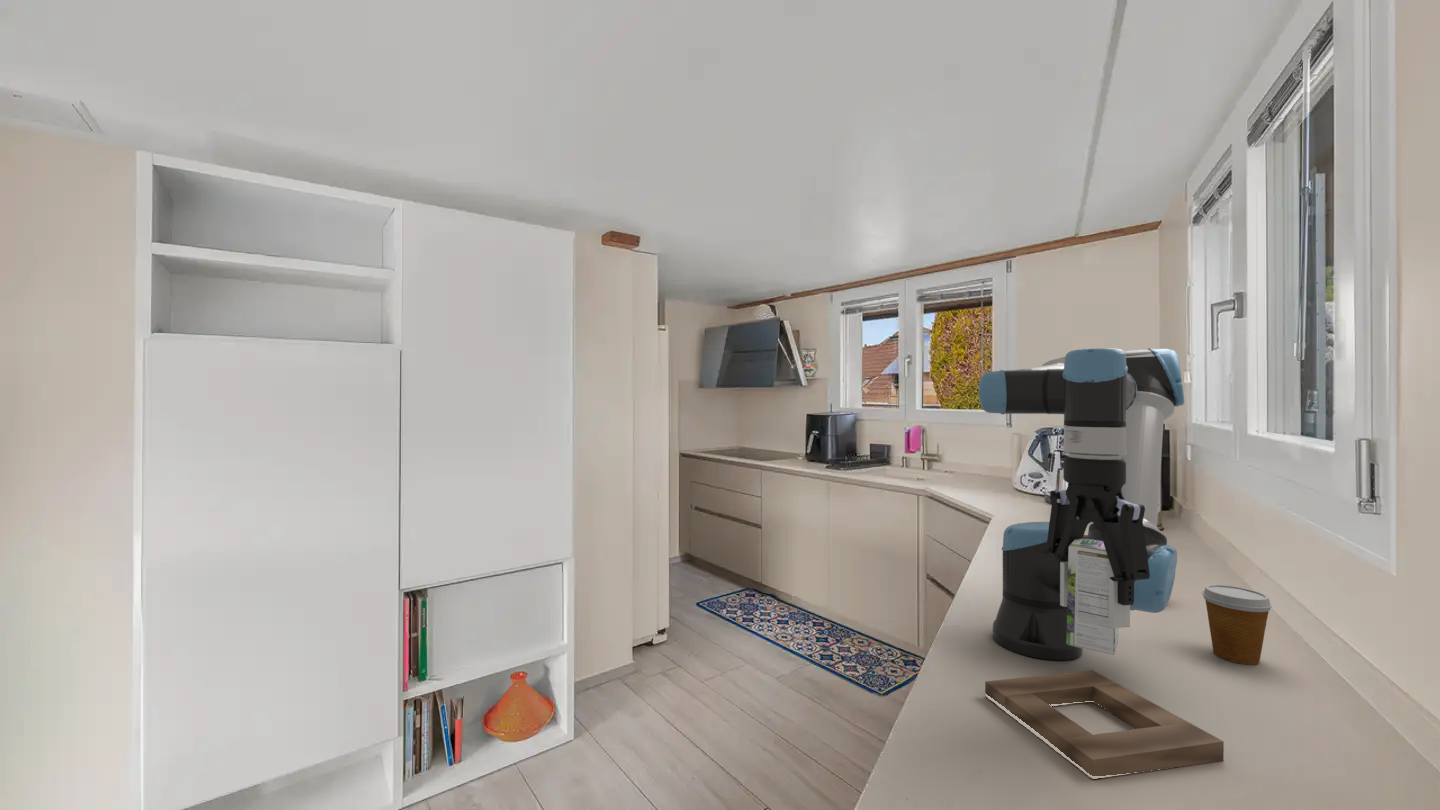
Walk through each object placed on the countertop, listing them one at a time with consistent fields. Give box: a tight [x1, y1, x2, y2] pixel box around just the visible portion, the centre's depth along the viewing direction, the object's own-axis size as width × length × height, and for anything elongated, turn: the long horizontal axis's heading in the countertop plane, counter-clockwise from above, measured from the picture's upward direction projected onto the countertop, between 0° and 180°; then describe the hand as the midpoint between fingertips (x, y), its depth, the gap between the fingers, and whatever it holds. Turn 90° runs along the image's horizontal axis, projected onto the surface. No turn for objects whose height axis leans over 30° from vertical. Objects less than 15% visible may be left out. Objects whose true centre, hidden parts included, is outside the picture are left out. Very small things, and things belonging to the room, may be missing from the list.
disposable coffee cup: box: [1201, 584, 1273, 666], centre depth 104 cm, size 10×10×12 cm
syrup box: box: [1066, 539, 1119, 656], centre depth 81 cm, size 6×6×14 cm
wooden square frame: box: [984, 669, 1225, 776], centre depth 81 cm, size 20×20×2 cm
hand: (1093, 615), depth 81 cm, fingers closed on syrup box, 8 cm apart
